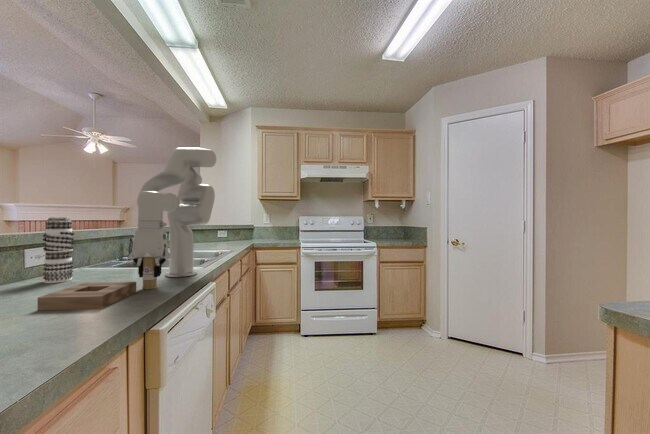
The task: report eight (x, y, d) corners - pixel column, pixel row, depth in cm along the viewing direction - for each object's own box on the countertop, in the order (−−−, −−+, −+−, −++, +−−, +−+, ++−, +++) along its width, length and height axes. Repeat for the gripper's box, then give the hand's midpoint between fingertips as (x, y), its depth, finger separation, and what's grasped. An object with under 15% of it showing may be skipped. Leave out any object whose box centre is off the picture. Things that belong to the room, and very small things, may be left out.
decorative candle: (74, 277, 119) (75, 217, 119) (73, 281, 112) (74, 217, 112) (43, 280, 113) (44, 217, 113) (40, 284, 106) (41, 217, 106)
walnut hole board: (85, 292, 95) (85, 282, 95) (136, 291, 97) (136, 281, 97) (37, 310, 77) (37, 297, 77) (101, 308, 79) (101, 296, 79)
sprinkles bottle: (140, 290, 99) (141, 251, 99) (144, 287, 104) (145, 250, 104) (155, 289, 101) (155, 251, 101) (158, 286, 105) (159, 249, 105)
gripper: (179, 225, 107) (178, 274, 107) (131, 225, 105) (130, 274, 105) (170, 226, 99) (170, 278, 99) (119, 226, 98) (118, 279, 98)
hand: (149, 276), depth 102 cm, fingers closed on sprinkles bottle, 4 cm apart
